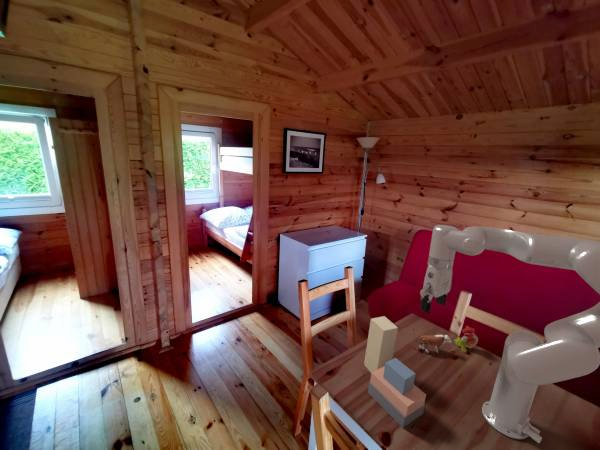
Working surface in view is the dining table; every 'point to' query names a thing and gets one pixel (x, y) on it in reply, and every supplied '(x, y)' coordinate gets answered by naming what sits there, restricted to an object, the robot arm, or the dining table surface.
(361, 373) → the dining table surface
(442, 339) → the bull figurine
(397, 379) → the slate brick
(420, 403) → the pink and grey block
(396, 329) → the toy refrigerator
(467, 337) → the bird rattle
